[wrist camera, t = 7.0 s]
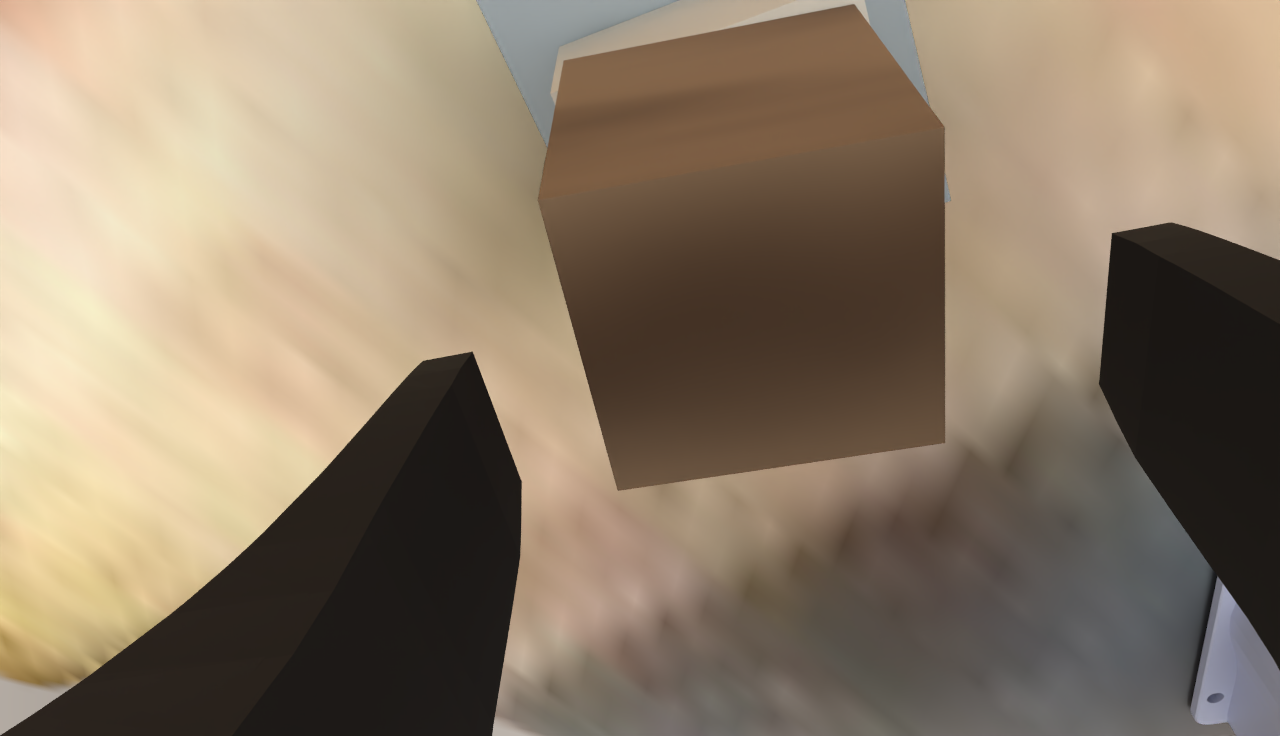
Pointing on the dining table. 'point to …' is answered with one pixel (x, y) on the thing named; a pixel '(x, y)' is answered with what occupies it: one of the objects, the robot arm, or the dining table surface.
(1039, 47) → the dining table surface
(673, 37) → the cream block
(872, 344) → the walnut block
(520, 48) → the tower base slab
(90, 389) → the dining table surface
